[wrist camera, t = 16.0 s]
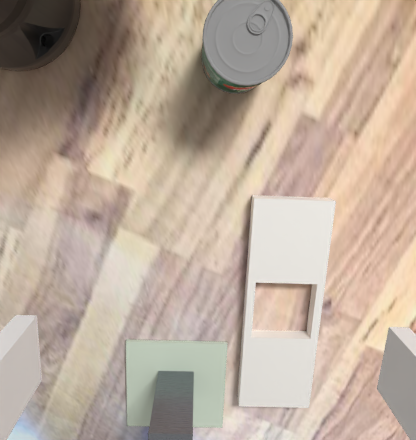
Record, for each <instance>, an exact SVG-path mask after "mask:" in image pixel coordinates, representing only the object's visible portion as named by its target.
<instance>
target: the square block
mask: <svg viewBox="0 0 416 440" xmlns="http://www.w3.org/2000/svg"><path fill="white" fill-rule="evenodd" d="M193 390H194V372H193V371H158V376H157V382H156V389H155V395H154V401H153V407H152V413H151V420H150V426H149V432H148V440H192V437H193Z"/></svg>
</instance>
